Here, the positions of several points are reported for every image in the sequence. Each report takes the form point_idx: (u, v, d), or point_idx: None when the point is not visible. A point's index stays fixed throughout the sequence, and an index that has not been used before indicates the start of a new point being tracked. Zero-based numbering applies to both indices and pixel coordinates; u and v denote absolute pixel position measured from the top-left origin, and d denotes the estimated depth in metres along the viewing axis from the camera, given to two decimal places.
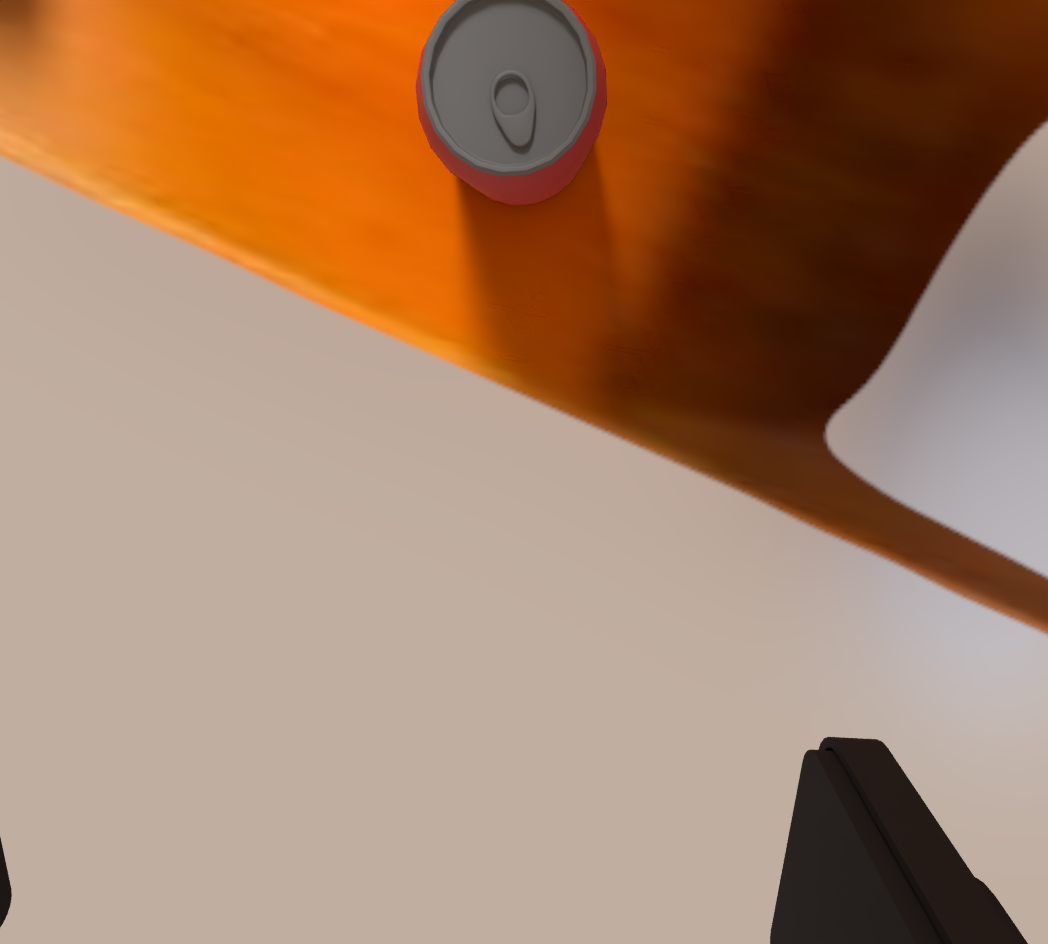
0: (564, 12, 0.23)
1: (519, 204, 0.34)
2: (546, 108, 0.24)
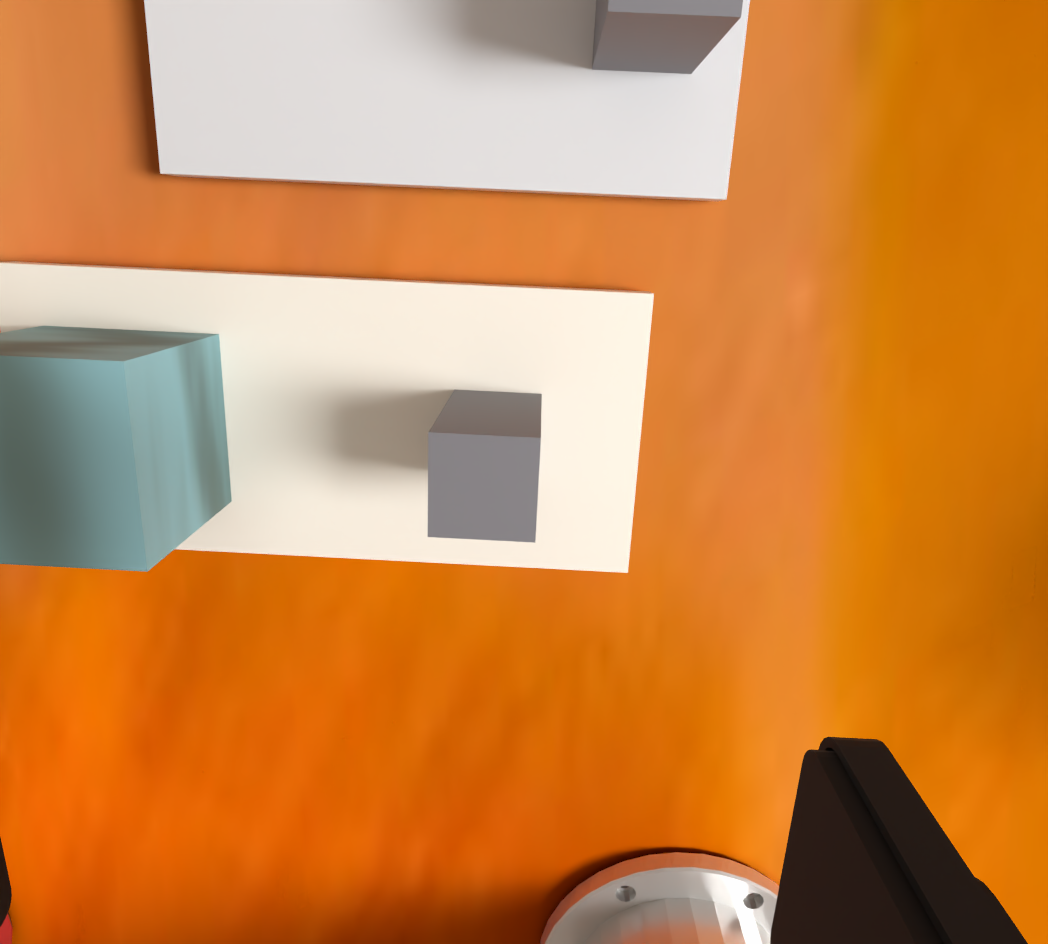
0: None
1: None
2: None
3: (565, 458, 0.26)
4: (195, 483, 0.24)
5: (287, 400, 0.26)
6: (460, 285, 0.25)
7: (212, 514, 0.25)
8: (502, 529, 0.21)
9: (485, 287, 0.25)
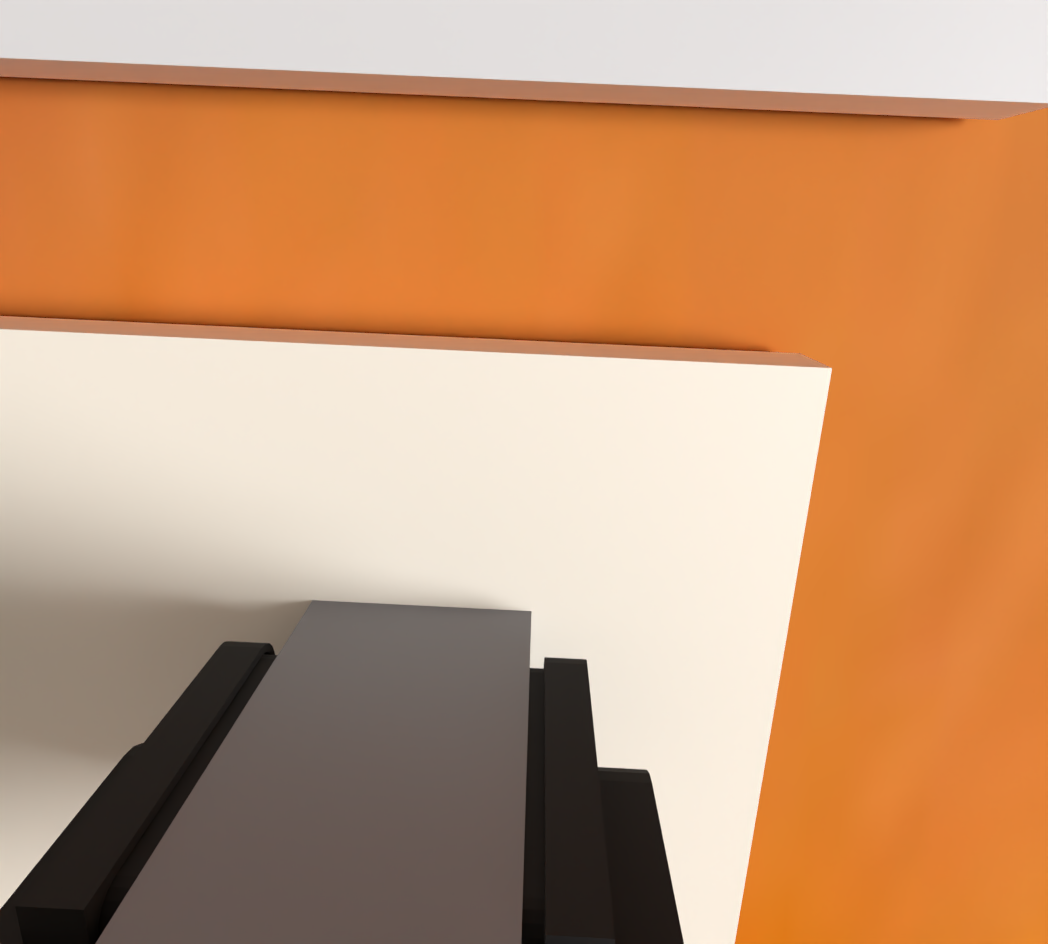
0: None
1: None
2: None
3: None
4: None
5: None
6: (312, 345, 0.09)
7: None
8: None
9: (379, 350, 0.09)
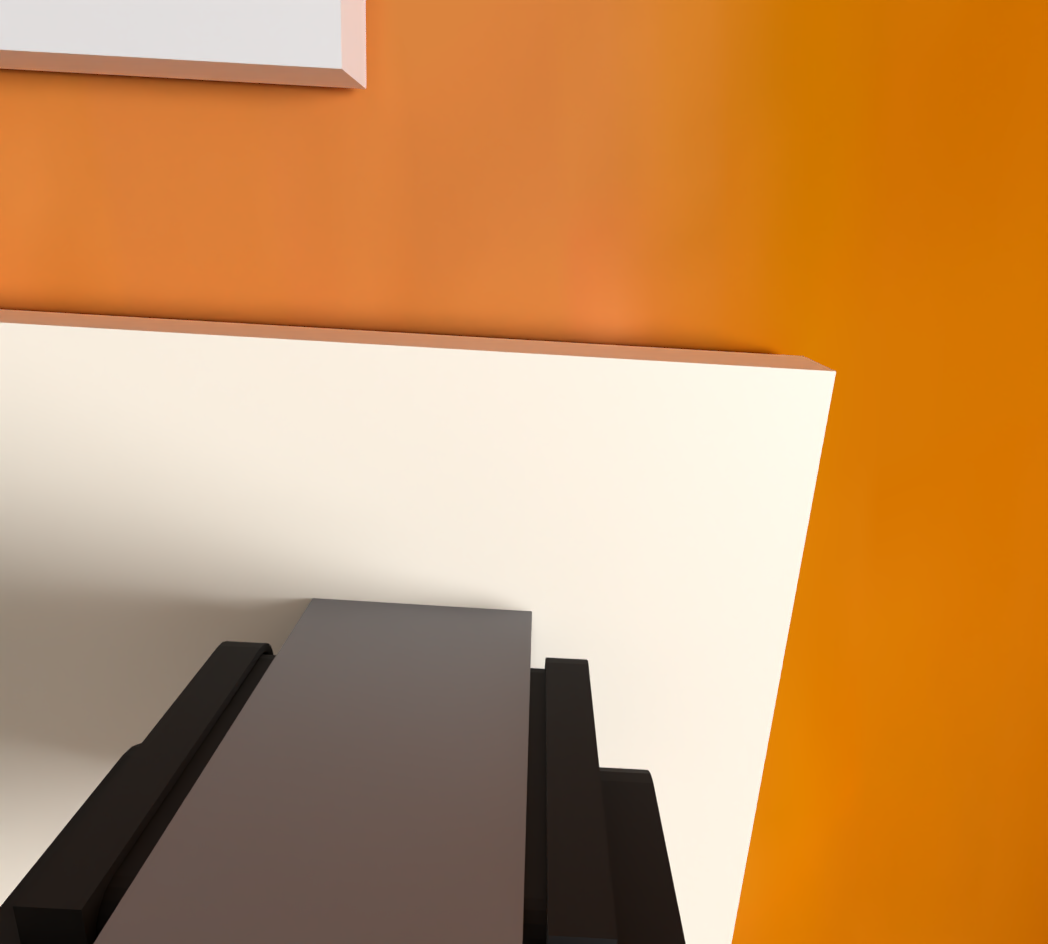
0: None
1: None
2: None
3: None
4: None
5: None
6: (316, 342, 0.09)
7: None
8: None
9: (382, 349, 0.09)
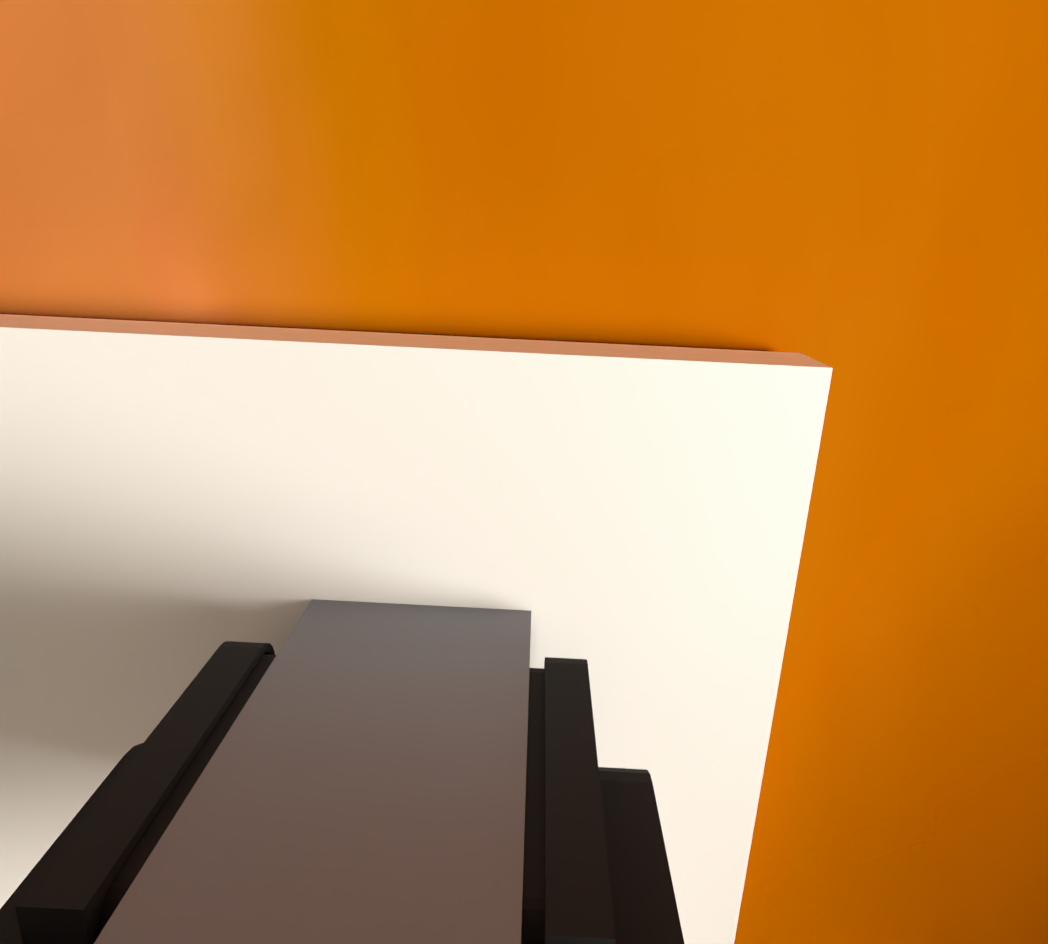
0: None
1: None
2: None
3: None
4: None
5: None
6: (312, 344, 0.09)
7: None
8: None
9: (379, 349, 0.09)
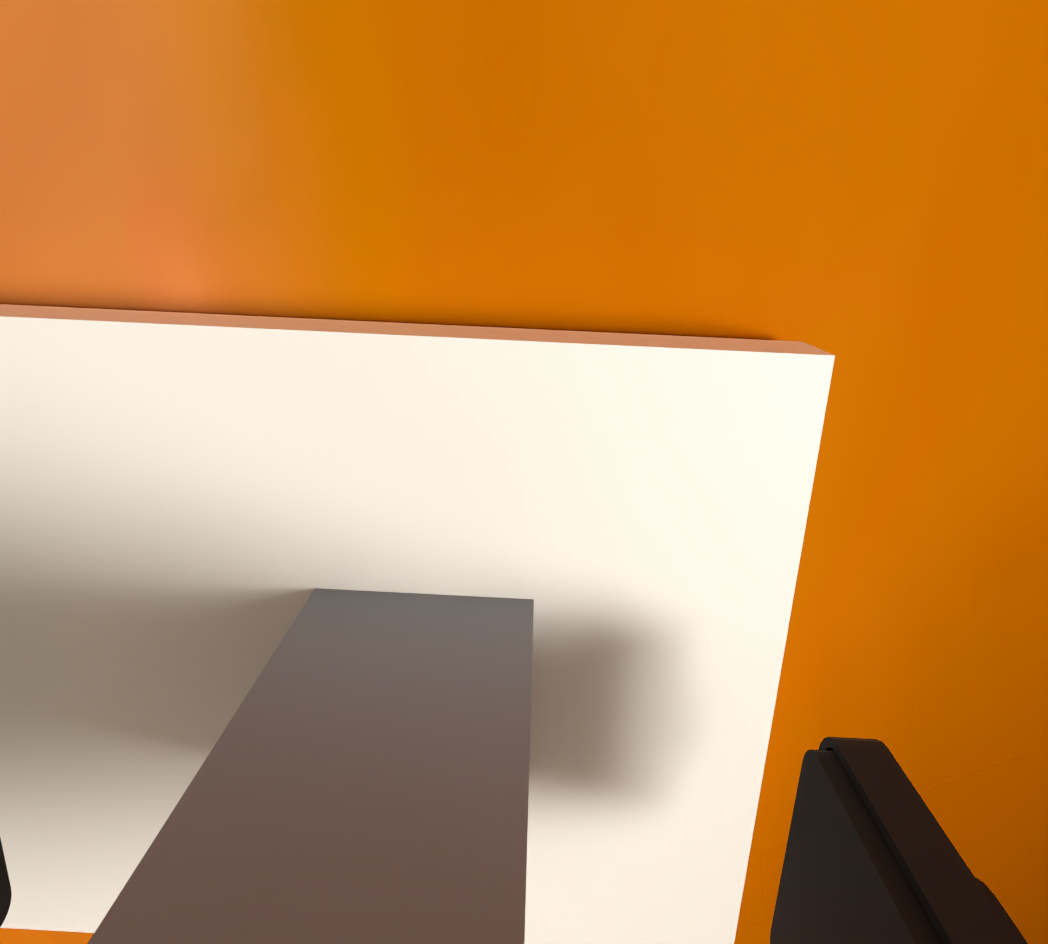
0: None
1: None
2: None
3: (590, 741, 0.11)
4: None
5: None
6: (315, 333, 0.09)
7: None
8: None
9: (382, 338, 0.09)
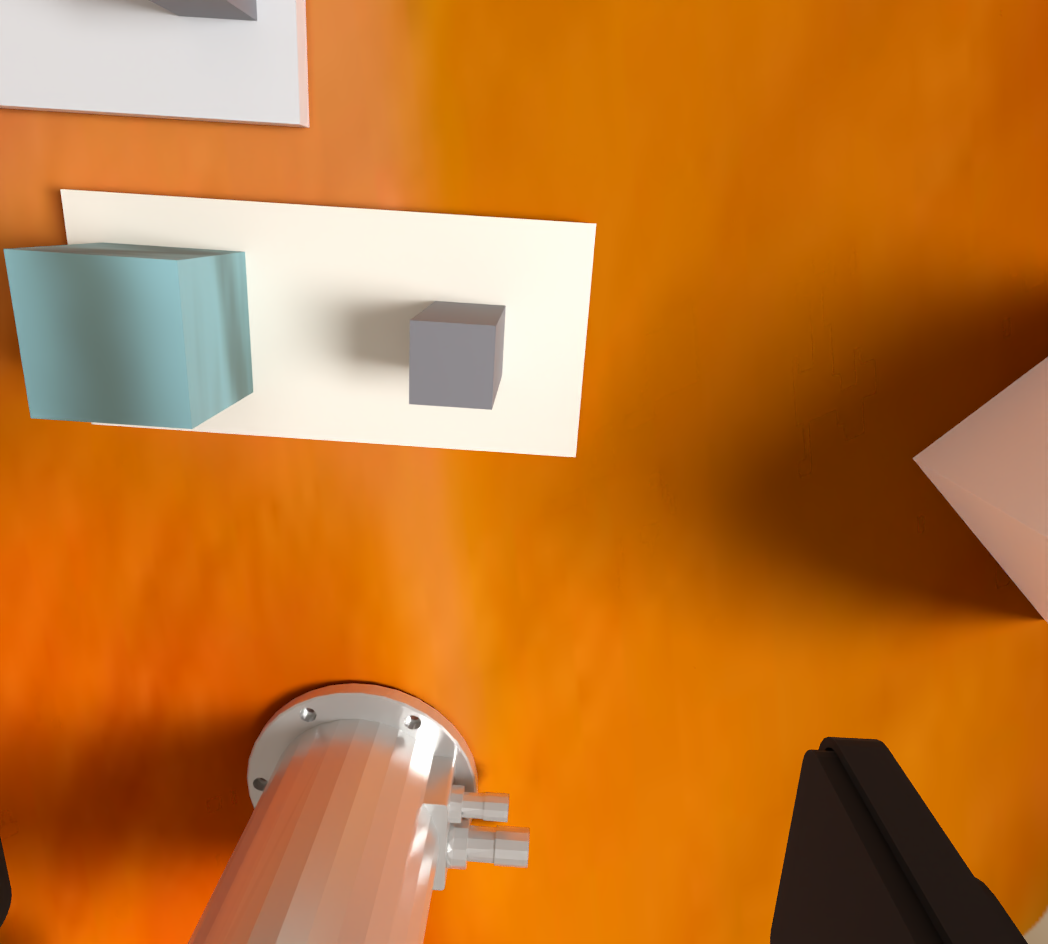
0: None
1: None
2: None
3: (524, 360, 0.32)
4: (226, 369, 0.30)
5: (299, 308, 0.32)
6: (440, 214, 0.30)
7: (238, 398, 0.32)
8: (466, 398, 0.27)
9: (460, 216, 0.30)
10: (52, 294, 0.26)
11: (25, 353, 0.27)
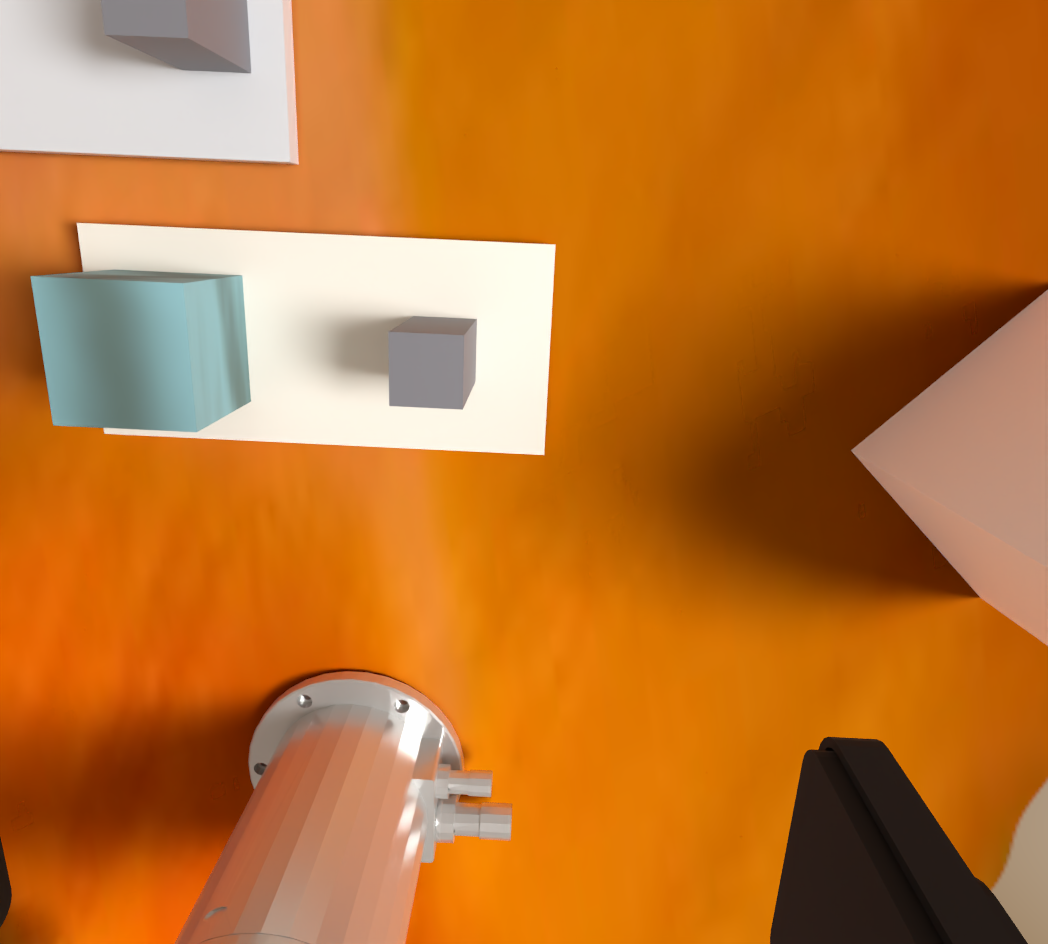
0: None
1: None
2: None
3: (495, 367, 0.36)
4: (226, 380, 0.34)
5: (292, 324, 0.35)
6: (416, 239, 0.34)
7: (238, 406, 0.35)
8: (440, 400, 0.30)
9: (434, 240, 0.34)
10: (73, 315, 0.30)
11: (48, 367, 0.30)
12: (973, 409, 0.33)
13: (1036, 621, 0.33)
